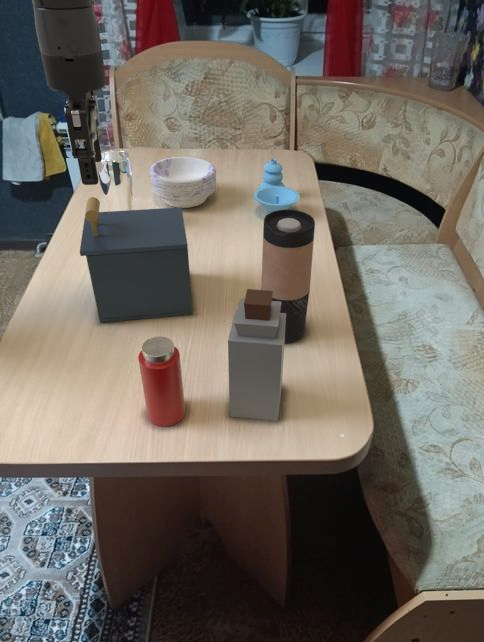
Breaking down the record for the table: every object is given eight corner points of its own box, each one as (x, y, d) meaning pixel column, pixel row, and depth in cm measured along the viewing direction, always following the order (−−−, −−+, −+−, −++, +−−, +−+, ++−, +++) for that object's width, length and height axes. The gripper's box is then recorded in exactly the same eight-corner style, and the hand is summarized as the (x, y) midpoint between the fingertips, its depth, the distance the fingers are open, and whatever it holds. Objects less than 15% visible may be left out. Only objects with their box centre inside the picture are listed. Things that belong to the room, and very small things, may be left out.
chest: (100, 323, 91) (85, 256, 83) (103, 280, 102) (91, 217, 94) (192, 314, 94) (187, 248, 86) (186, 273, 104) (181, 211, 96)
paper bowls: (222, 210, 126) (221, 177, 121) (156, 216, 123) (152, 182, 118) (211, 185, 137) (209, 153, 132) (150, 189, 134) (146, 157, 129)
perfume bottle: (236, 383, 81) (235, 280, 69) (281, 387, 80) (288, 284, 69) (229, 416, 75) (227, 310, 64) (278, 421, 75) (284, 315, 64)
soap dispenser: (301, 223, 122) (304, 184, 116) (255, 224, 121) (255, 185, 115) (291, 190, 136) (293, 154, 130) (249, 191, 135) (250, 154, 129)
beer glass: (107, 231, 117) (95, 162, 107) (106, 217, 122) (95, 150, 112) (140, 228, 118) (131, 160, 108) (138, 215, 123) (129, 148, 114)
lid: (80, 256, 83) (73, 223, 80) (86, 217, 93) (80, 186, 90) (187, 248, 86) (185, 217, 82) (181, 211, 96) (179, 181, 93)
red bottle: (140, 418, 75) (128, 351, 67) (162, 395, 78) (153, 329, 71) (171, 431, 73) (162, 364, 65) (192, 407, 77) (186, 341, 69)
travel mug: (296, 314, 95) (304, 206, 82) (312, 340, 89) (324, 228, 76) (254, 321, 93) (256, 212, 80) (268, 348, 87) (272, 235, 75)
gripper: (47, 36, 74) (71, 155, 84) (31, 59, 63) (60, 193, 73) (104, 36, 75) (120, 154, 85) (97, 59, 64) (117, 191, 74)
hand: (92, 172), depth 79 cm, fingers open, 8 cm apart
